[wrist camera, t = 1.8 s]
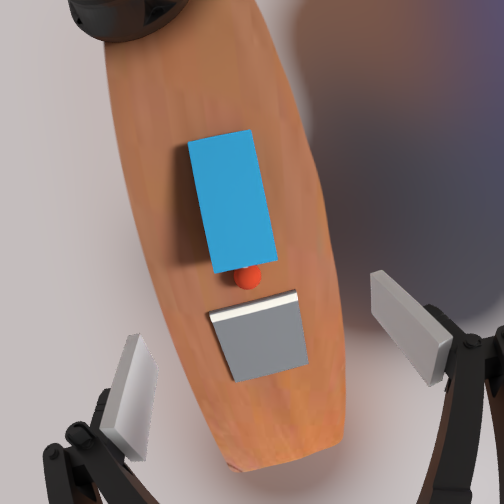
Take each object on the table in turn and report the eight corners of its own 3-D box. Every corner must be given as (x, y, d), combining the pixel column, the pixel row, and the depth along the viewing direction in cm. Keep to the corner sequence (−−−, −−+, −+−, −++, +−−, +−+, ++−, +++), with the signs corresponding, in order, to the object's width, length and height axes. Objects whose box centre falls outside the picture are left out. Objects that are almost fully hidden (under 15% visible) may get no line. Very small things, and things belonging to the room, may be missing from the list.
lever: (194, 155, 37) (223, 291, 39) (187, 142, 30) (221, 306, 32) (247, 144, 38) (275, 280, 40) (250, 129, 31) (284, 292, 33)
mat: (209, 311, 40) (209, 314, 40) (295, 289, 41) (296, 291, 40) (235, 379, 46) (235, 383, 45) (307, 361, 46) (308, 364, 46)
